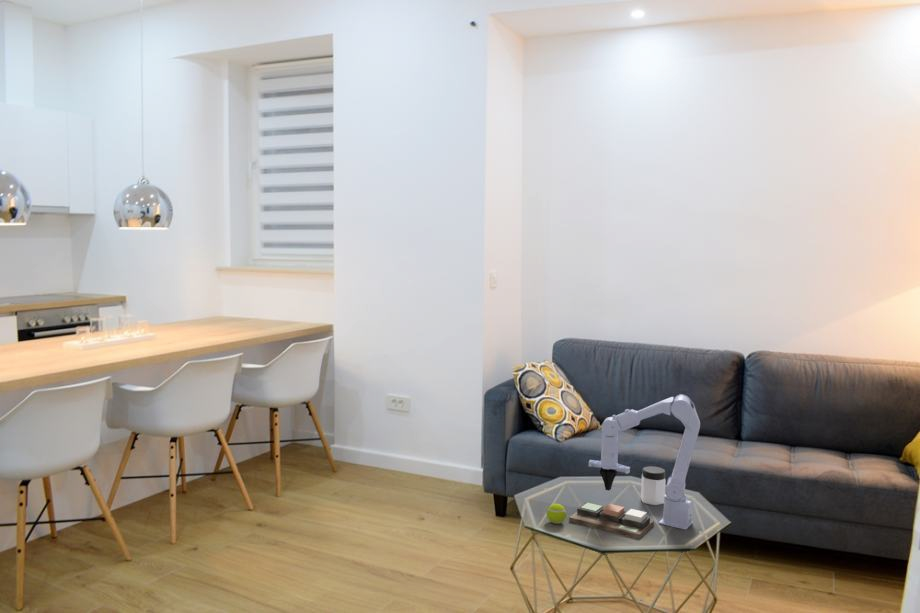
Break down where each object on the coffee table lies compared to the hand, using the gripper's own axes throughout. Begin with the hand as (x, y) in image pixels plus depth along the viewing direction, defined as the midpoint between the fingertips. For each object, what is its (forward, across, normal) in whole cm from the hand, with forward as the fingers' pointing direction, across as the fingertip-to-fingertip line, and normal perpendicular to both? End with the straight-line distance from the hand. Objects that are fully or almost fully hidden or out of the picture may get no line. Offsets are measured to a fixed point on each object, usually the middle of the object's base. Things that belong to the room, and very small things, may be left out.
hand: (608, 489), depth 273 cm
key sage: (+7, -4, -6) cm, 10 cm away
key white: (+6, +12, -6) cm, 15 cm away
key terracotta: (+6, +4, -6) cm, 9 cm away
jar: (+9, +9, +22) cm, 25 cm away
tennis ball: (+9, -11, -18) cm, 23 cm away
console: (+9, +4, -7) cm, 12 cm away
